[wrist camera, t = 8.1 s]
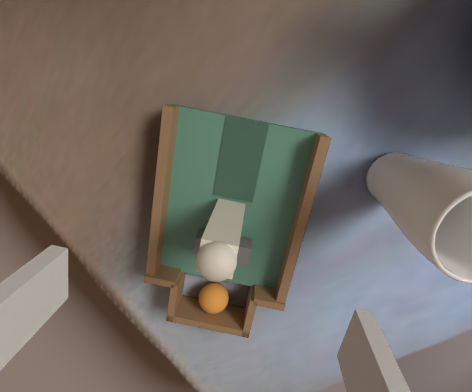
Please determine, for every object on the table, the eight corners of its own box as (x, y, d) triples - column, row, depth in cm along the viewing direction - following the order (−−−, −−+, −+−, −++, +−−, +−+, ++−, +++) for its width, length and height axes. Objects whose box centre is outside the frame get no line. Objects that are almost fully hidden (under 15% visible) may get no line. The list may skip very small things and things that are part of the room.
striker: (205, 194, 33) (176, 244, 22) (259, 205, 33) (258, 261, 22) (197, 244, 35) (167, 313, 24) (248, 254, 35) (242, 328, 24)
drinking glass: (352, 204, 34) (417, 281, 20) (363, 142, 32) (444, 179, 18) (416, 208, 34) (529, 290, 19) (431, 146, 31) (570, 187, 17)
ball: (202, 284, 40) (202, 276, 37) (230, 289, 40) (232, 282, 36) (195, 312, 38) (194, 307, 35) (224, 318, 38) (226, 313, 35)
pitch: (173, 104, 32) (161, 105, 28) (323, 133, 32) (332, 138, 28) (151, 294, 40) (140, 315, 36) (273, 319, 40) (274, 343, 36)
